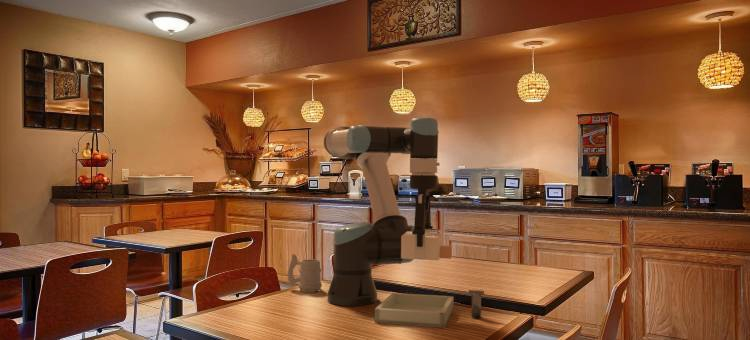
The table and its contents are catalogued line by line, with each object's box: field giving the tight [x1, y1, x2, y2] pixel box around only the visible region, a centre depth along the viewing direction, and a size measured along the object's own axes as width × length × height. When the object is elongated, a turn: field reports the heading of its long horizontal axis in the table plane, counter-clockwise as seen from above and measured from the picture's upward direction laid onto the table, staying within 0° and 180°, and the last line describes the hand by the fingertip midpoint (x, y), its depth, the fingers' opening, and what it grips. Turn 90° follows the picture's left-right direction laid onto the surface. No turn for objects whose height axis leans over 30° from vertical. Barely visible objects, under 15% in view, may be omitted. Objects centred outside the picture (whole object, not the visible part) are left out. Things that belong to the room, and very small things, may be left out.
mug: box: [287, 253, 323, 293], centre depth 175 cm, size 8×12×12 cm, turn 80°
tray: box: [374, 292, 455, 329], centre depth 143 cm, size 18×20×4 cm
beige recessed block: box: [401, 231, 453, 261], centre depth 143 cm, size 13×10×6 cm
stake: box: [468, 289, 485, 319], centre depth 140 cm, size 4×2×7 cm, turn 75°
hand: (422, 255), depth 144 cm, fingers closed on beige recessed block, 10 cm apart
